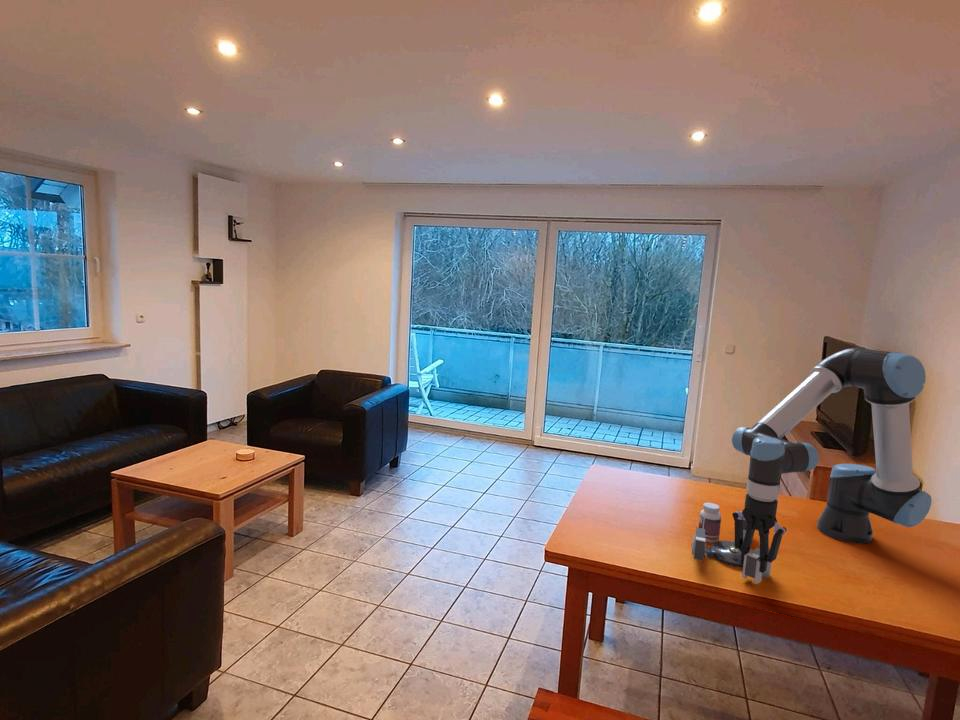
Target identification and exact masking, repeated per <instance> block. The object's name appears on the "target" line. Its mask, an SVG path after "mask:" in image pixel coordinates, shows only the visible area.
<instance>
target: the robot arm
mask: <svg viewBox="0 0 960 720" xmlns="http://www.w3.org/2000/svg"><path fill="white" fill-rule="evenodd" d="M926 378H927V377H926V369H925V367H924V365H923V363H922V362H921V361H920V359H918V358H917V357H916V356H914V355H911V354H906V353H903V352H899V351H886V350H879V349H870V348H864V347H850V348H847V349H843V350H840V351H837V352H835V353H833V354H831V355H829V356H827V357H826V358H823V359H822V360H820V361H819V362H818V363H817V364H815V365H814V366H813V367H812V368H810V371H809V375H808V376H807V377H806V378H805V379H804V380H803V381H801V383H799V384H798V385H797V386H796V387H795V388H794V389H793V390H792V391H791V392H790V393H788V394H787V396H785V397H784V398H783V399H781V401H780V402H778V403H777V404H776V405H775V406H774V407H772V408H771V410H770V411H769V412H767V413H766V414H765V415H764V416H763V417H762V418H760V420H758V421H757V422H756V423H755V424H753V426H751V427H748V426H741V427H738V428H737V429H736V430H734V432H733V434H732V436H731V444H732V446H733V448H734V449H735V451H737V452H740V453H742V454H744V455H746V456H750V457H749V467H748V475H747V483H746V490H745V492H746V494H745V499H744V508H743V509H742V510H741V511H740V510H737V511H735V512H732V518H733V520H734V521H733V522H734V537H735V548H736V549H739V550H740V551H741V561H740V562H741V564H743V568H742V574H741V575H742V576H741V578H743V579H746V578H748V577H749V576H747V575H745V567H746V558H747V554H748V552H749V551H750V550H751V549H752V548H751V545H752V542H753V539H754V535H755V531H758V537H759V547H760V558H759V559H758V560H757V563H756V571H755V578H753V583H754V584H756V585H757V584H759V583H760V582H761V581H762V579H763V577H762V573H764V572H765V571H766V569H767V562H774V561H776V560H777V558H778V557H777V556H778V554H779V549H780V546H781V543H782V539H783V536H784V535H785V533H786V532H787V531H788V530H787V528H786V526H785V527H784V526H781V525H780V524H779V523H778V520H777V512H778V510H777V509H778V501H779V500H778V499H779V495H780V494H779V493H780V487H781V486H780V485H781V479H782V474H790V473H791V474H793V473H804V472H807V471H812V470H814V469H815V468H816V467H817V465H818V464H819V458H820V457H819V453H818V451H817V449H816V447H814V445H812V444H810V443H808V442H792V441H788V440H785V439H783V438H784V436H786V435H787V434H788V433H789V432H790V431H791V430H793V428H795V427H796V426H797V425H798V424H799V423H800V422H801V421H802V420H804V419H805V417H807V416H808V415H809V414H810V413H811V412H812V411H813V410H815V408H817V407H818V406H819V405H821V404H822V402H823V401H824V400H825V399H826V398H828V397H829V396H830V395H831V394H836V393H838V392H840V391H841V390H842V389H843V388H847V387H854V388H857V389H858V388H860V389H863V397H864V400H865V401H866V402H868V403H869V404H870V405H871V418H872V429H873V440H874V443H873V444H874V445H873V446H874V454H875V467H876V468H874V467H872V466H868V465H863V464H857V463H838V464H835V465H833V466H832V469H831V472H830V476H829V485H828V491H827V500H826V505H825V507H824V509H823V510H822V513H821V514H820V516H819V518H818V519H817V523H816V527H817V529H818V530H819V531H820V532H821V533H823V534H824V535H826V536H828V537H831V538H832V539H836V540H839V541H843V542H847V543H851V544H852V543H853V544H861V545H863V544H868V543H871V542H872V541H873V535H874V532H873V528H872V524H871V523H872V522H871V520H870V514H872V515H875V516H877V517H879V518H883V520H884V519H885V520H887V521H890V522H892V523H894V524H896V525H900V526H902V527H906V528H913V527H916V526H917V525H919V524H921V523H922V522H923V521H924V519H925V518H926V517H927V515H928V513H929V511H930V509H931V507H932V502H933V501H932V497H931V495H930V494H929V493H928V492H926V491H925V490H921V481H920V479H919V478H918V477H917V476H916V475H914V470H913V455H912V454H913V451H912V440H911V439H912V435H911V434H912V433H911V420H910V419H911V417H910V415H911V414H910V403H912V402H914V401H915V399H916V397H917V396H919V395H920V394H921V392H922V391H923V390H924V387H925V386H924V384H926ZM743 518H745V520H746V522H747V527H746V534H745V537H744V541H743ZM773 528H774V529H773ZM771 529H773V532H774V535H773V537H772V540H771V544H770V547H769V540H770V539H769V536H770V535H769V534H770V530H771ZM750 548H751V549H750ZM769 549H770V551H769Z"/></svg>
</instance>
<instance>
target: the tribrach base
mask: <svg viewBox="0 0 960 720" xmlns="http://www.w3.org/2000/svg"><path fill="white" fill-rule="evenodd" d="M750 549H751V550H750V551H749V552H753V551H754V549H752V548H751V547H750ZM749 552H748V553H749ZM705 555H706V557H708V558H714V559H716V560H717V561H718V562H721V563H722V564H725V565H727V566H731V567H735V568H742V569H743V564H741V562H740V561H741V551H740V550H739V549H736V548H735V541H734V540H733V541H731V540H718V541H716V542H714V543H711V547H710V546H705Z"/></svg>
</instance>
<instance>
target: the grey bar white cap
mask: <svg viewBox="0 0 960 720" xmlns="http://www.w3.org/2000/svg"><path fill="white" fill-rule="evenodd" d="M769 551H770V548H769ZM759 558H760V546H758V547H757V548H756V549H753V552H749V553H748V554H747V558H746V567H745V575H747V576H748V577H750V578H752V579H754V578H755V571H756V563H757V560H758V559H759ZM772 562H773V561H772ZM772 562H767V569H766V571H765V572H764V573H762V579H763V578H764V579H768V578H770V577H771V570H772Z"/></svg>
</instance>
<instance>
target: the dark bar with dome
mask: <svg viewBox="0 0 960 720" xmlns="http://www.w3.org/2000/svg"><path fill="white" fill-rule="evenodd" d="M706 544H707V542H706V538H705V529H702V528H699V527H696V528H695V534H694V535H693V537H692V543H691V554H692V555H693V559H694V560H698V561H704V557H705V555H706V554H705V547H706Z"/></svg>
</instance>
